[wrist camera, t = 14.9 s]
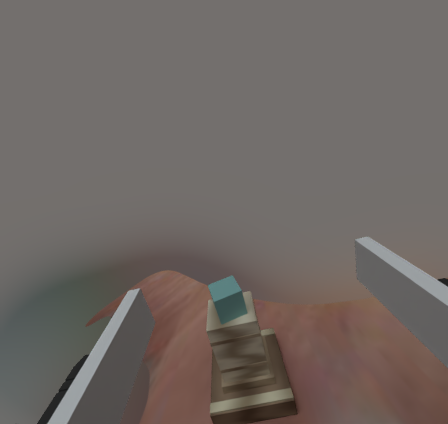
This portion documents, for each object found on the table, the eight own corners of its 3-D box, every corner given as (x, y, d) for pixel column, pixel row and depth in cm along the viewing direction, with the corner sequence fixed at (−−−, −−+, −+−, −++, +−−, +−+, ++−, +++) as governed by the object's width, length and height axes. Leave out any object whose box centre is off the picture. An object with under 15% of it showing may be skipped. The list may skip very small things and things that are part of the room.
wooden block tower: (265, 342, 38) (252, 288, 35) (275, 383, 32) (260, 322, 28) (223, 351, 39) (205, 298, 35) (224, 394, 32) (202, 335, 28)
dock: (275, 339, 42) (273, 327, 41) (297, 414, 30) (294, 398, 29) (216, 351, 42) (212, 339, 41) (215, 429, 31) (209, 414, 30)
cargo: (238, 296, 34) (232, 275, 33) (247, 313, 30) (241, 290, 29) (214, 306, 33) (207, 285, 32) (221, 324, 29) (214, 302, 28)
